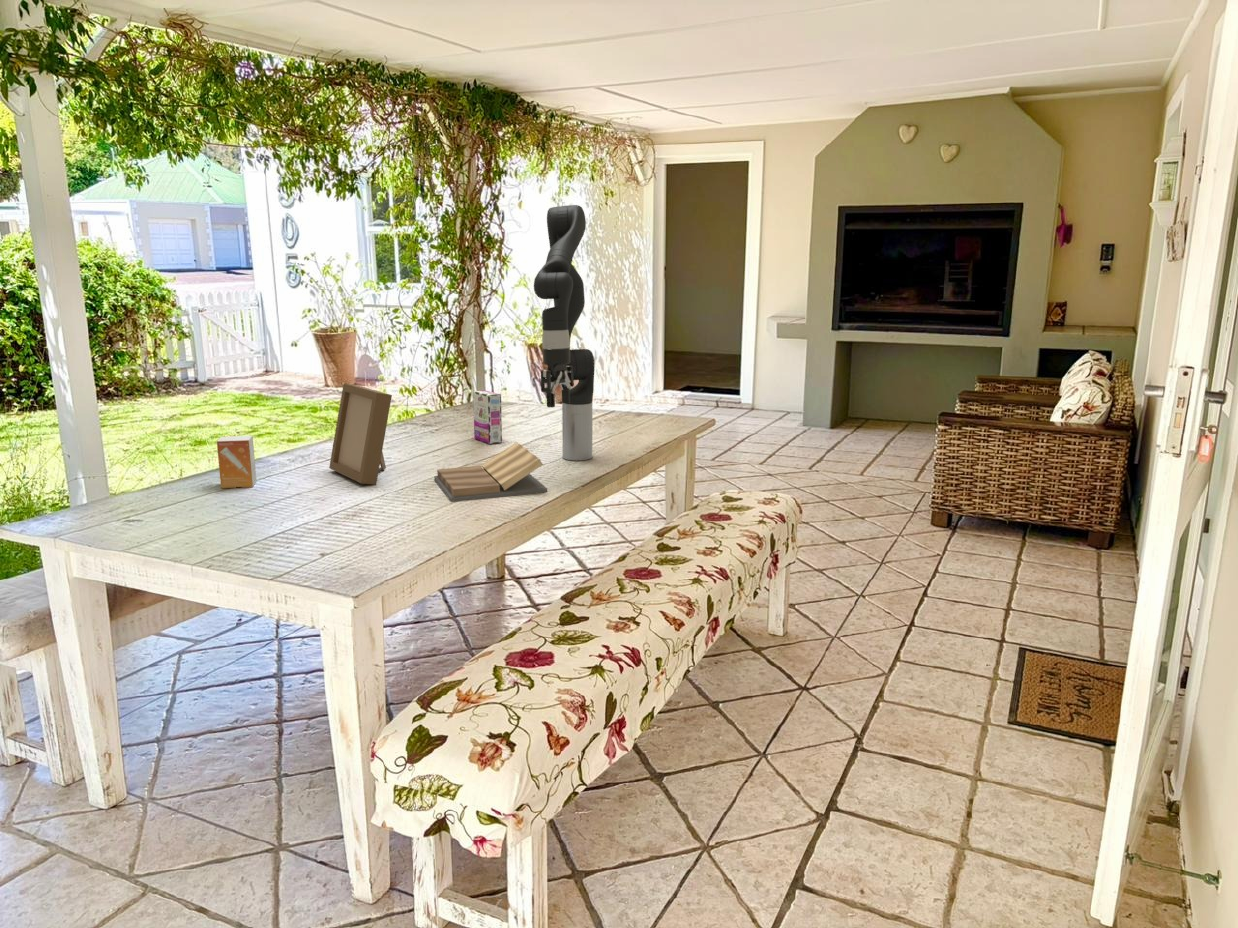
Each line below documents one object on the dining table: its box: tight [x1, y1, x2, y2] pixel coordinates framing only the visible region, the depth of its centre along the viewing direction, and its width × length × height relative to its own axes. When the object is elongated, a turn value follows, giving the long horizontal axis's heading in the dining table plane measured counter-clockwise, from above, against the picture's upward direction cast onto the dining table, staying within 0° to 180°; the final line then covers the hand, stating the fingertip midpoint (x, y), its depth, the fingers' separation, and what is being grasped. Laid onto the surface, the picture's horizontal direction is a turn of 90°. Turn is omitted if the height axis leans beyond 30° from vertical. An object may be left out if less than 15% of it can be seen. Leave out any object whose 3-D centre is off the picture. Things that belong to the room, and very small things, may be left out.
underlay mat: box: [433, 473, 548, 502], centre depth 235 cm, size 23×26×1 cm
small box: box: [216, 435, 257, 489], centre depth 232 cm, size 8×6×13 cm
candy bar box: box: [472, 390, 503, 445], centre depth 288 cm, size 11×5×16 cm, turn 37°
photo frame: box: [329, 383, 393, 486], centre depth 242 cm, size 15×22×25 cm
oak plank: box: [480, 441, 543, 490], centre depth 236 cm, size 22×12×2 cm
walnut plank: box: [436, 465, 500, 497], centre depth 232 cm, size 22×12×2 cm, turn 22°
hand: (558, 405), depth 242 cm, fingers open, 8 cm apart
